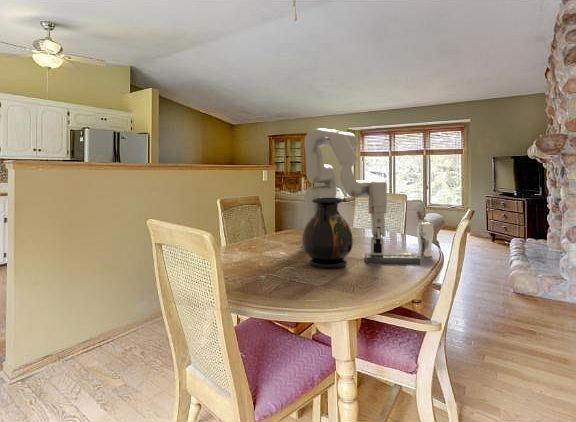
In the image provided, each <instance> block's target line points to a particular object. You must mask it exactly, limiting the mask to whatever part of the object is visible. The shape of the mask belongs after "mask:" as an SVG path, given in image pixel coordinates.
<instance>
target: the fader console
mask: <svg viewBox="0 0 576 422" xmlns="http://www.w3.org/2000/svg"><path fill="white" fill-rule="evenodd" d="M421 258H422V257H421V256H418V253H416V252H415V253H414V252H413V253H411V252H409V253H408V252H384V255H371V252H364V259H365V262H366V264H383V265H384V264H387V265H388V264H389V265H392V264H393V265H421V260H422V259H421Z"/></svg>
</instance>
